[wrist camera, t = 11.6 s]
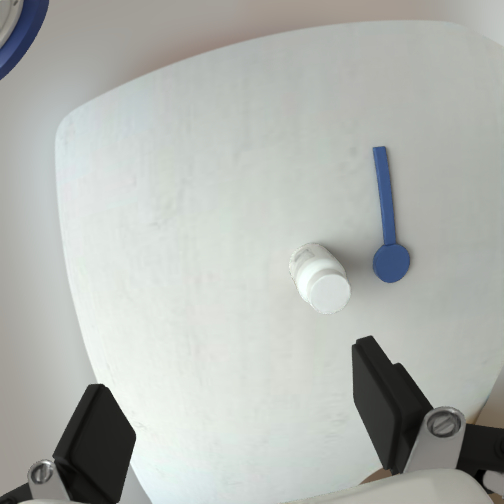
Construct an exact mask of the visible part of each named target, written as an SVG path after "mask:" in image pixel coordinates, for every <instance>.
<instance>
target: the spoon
mask: <svg viewBox="0 0 504 504" xmlns="http://www.w3.org/2000/svg"><path fill="white" fill-rule="evenodd" d="M373 153H374V159H375V166H376V172H377V180H378V187H379V195H380V204H381V214H382V224H383V236H384V244H385V245H383V246H382V247H381V248H380V249H379V250H378V251H377V252H376V254H375V256H374V259H373V269H374V272H375V274H376V275H377V276H378V277H379V278H380V279H381V280H382V281H384V282H387V283H392V282H396V281H398V280H400V279H401V278H402V277H403V276H404V275H405V274H406V272H407V271H408V268H409V264H410V257H409V254H408V251H407V250H406V249H405V248H404V247H403V246H401V245H399V244H397V243H396V237H395V224H394V212H393V202H392V193H391V184H390V176H389V169H388V162H387V155H386V149H385V147H374V148H373Z"/></svg>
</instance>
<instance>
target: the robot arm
mask: <svg viewBox="0 0 504 504" xmlns="http://www.w3.org/2000/svg"><path fill="white" fill-rule="evenodd" d="M23 2H24V0H0V49H1V47H2V46H3V45H4V43H5V42H6V41H7V39H8V38H9V36H10V35H11V33H12V31H13V30H14V28H15V26H16V24H17V22H18V19H19V17H20V14H21V11H22V8H23ZM352 366H353V398H354V402H355V405H356V408H357V410H358V412H359V414H360V416H361V419H362V421H363V423H364V425H365V427H366V430H367V432H368V434H369V436H370V439H371V441H372V443H373V445H374V448H375V450H376V452H377V454H378V457H379V459H380V461H381V463H382V466H383V468H384V469H385V470H388V469H390V471H391V473H392V476H391V477H387V478H384V479H380V480H377V481H373V482H369V483H366V484H362V485H359V486H355V487H352V488H348V489H344V490H341V491H337V492H333V493H328V494H324V495H320V496H315V497H311V498H306V499H301V500H296V501H290V502H285V503H279V504H494V503H493V502H492V500H491V498H490V497H489V496H488V494H492V493H497V494H500V495H502V496H503V497H502V499H504V429H501V428H493V427H486V426H479V425H473V424H467V423H466V419H465V417H464V415H463V414H462V413H461V412H460V411H459V410H457V409H456V408H453V407H438V408H435V409H434V408H433V407H432V405H431V404H430V403H429V401H428V400H427V398H426V397H425V396H424V394H423V393H422V391H421V390H420V389H419V387H418V386H417V384H416V383H415V382H414V380H413V379H412V377H411V376H410V375H409V373H408V372H407V371H406V369H405V368H404V367H403V365H402V364H401V363H396V364H392V363H391V361H390V360H389V359H388V357H387V356H386V354H385V353H384V352H383V350H382V349H381V347H380V346H379V345H378V343H377V342H376V340H375V339H374V338H373V336H367V337H364V338H360V339H357V340H356V344H354V345H352ZM135 441H136V433H135V431H134V429H133V428H132V426H131V425H130V423H129V421H128V420H127V418H126V417H125V415H124V413H123V412H122V410H121V409H120V407H119V405H118V403H117V402H116V400H115V398H114V397H113V395H112V393H111V391H110V390H109V388H108V387H105V385H103V384H91V385H88V387H87V389H86V390H85V393H84V394H83V396H82V398H81V400H80V402H79V404H78V406H77V407H76V410H75V412H74V413H73V415H72V417H71V419H70V421H69V423H68V425H67V427H66V429H65V431H64V433H63V435H62V437H61V439H60V441H59V443H58V445H57V447H56V449H55V451H54V454H53V458H54V459H55V461H54V463H53V462H52V461H50V460H41V461H38V462H36V463H35V464H33V465H32V466H31V467H30V469H29V471H28V475H27V477H28V483H26V484H24V485H22V486H20V487H18V488H16V489H14V490H12V491H10V492H8V493H6V494H4V495H3V496H1V497H0V504H116V503H118V502H119V501H120V497H121V494H122V490H123V486H124V482H125V478H126V474H127V470H128V467H129V463H130V459H131V456H132V452H133V448H134V445H135ZM398 473H400V474H399V475H396V474H398ZM393 475H396V476H393Z"/></svg>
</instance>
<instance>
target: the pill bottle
mask: <svg viewBox="0 0 504 504" xmlns="http://www.w3.org/2000/svg"><path fill="white" fill-rule="evenodd" d="M289 270H290V274H291V276H292V278H293V280H294V283H295V285H296V287H297V289H298V292H299V294H300V295H301V297H302V298H303V299H304V300H305V301H306V302H308V303H309V304H311V305H312V307H313V308H314V309H315V310H316V311H318V312H320V313H323V314H333V313H336V312H338V311H340V310H341V309H343V308H344V307H345V306H346V304H347V303H348V301H349V299H350V296H351V287H350V284H349V282H348V280H347V276H346V272H345V270H344V268H343V267H342V265H341V264H340V263H339V262H338V261H337V260H336V259H335V258H334V256H333V255H332V254H331V253H330V252H329V251H328V250H327V249H326V248H324V247H323V246H321V245H318V244H306V245H303V246H301V247H300V248H298V249H297V250H296V251H295V252H294V253H293V255H292V256H291V259H290V263H289Z"/></svg>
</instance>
